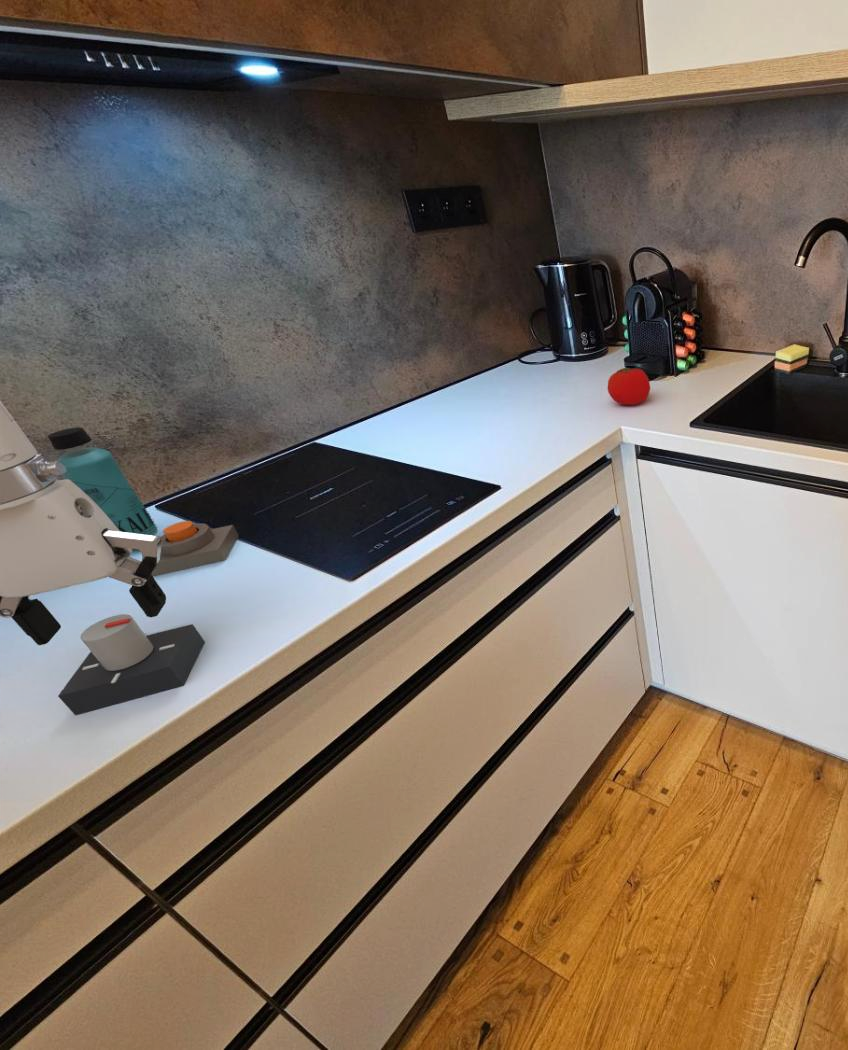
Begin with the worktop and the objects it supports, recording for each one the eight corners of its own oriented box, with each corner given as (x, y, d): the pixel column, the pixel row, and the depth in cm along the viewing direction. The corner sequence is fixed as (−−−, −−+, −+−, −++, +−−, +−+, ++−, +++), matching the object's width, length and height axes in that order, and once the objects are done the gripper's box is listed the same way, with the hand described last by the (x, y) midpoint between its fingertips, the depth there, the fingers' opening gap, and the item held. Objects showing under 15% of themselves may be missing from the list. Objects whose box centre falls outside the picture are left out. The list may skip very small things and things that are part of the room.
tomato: (659, 401, 139) (656, 366, 135) (624, 413, 134) (619, 377, 129) (637, 393, 145) (633, 359, 141) (602, 404, 140) (597, 369, 136)
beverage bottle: (121, 542, 96) (43, 429, 86) (170, 530, 99) (100, 419, 88) (108, 561, 91) (23, 443, 81) (160, 549, 94) (84, 432, 83)
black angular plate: (73, 717, 63) (55, 697, 62) (108, 665, 70) (92, 646, 69) (182, 687, 66) (167, 667, 65) (205, 640, 73) (193, 621, 72)
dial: (97, 676, 64) (70, 643, 62) (114, 650, 68) (89, 618, 65) (145, 663, 66) (120, 631, 63) (159, 639, 69) (137, 607, 67)
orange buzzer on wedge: (147, 578, 86) (132, 556, 84) (167, 551, 93) (153, 530, 91) (225, 560, 89) (212, 538, 87) (239, 535, 96) (227, 514, 94)
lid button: (165, 545, 87) (159, 535, 86) (174, 534, 90) (167, 524, 89) (193, 539, 88) (187, 529, 87) (201, 528, 91) (195, 518, 90)
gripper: (124, 450, 61) (208, 582, 69) (-94, 490, 56) (26, 626, 65) (90, 478, 55) (186, 619, 63) (-158, 525, 50) (-16, 671, 59)
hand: (105, 623), depth 64 cm, fingers open, 9 cm apart
